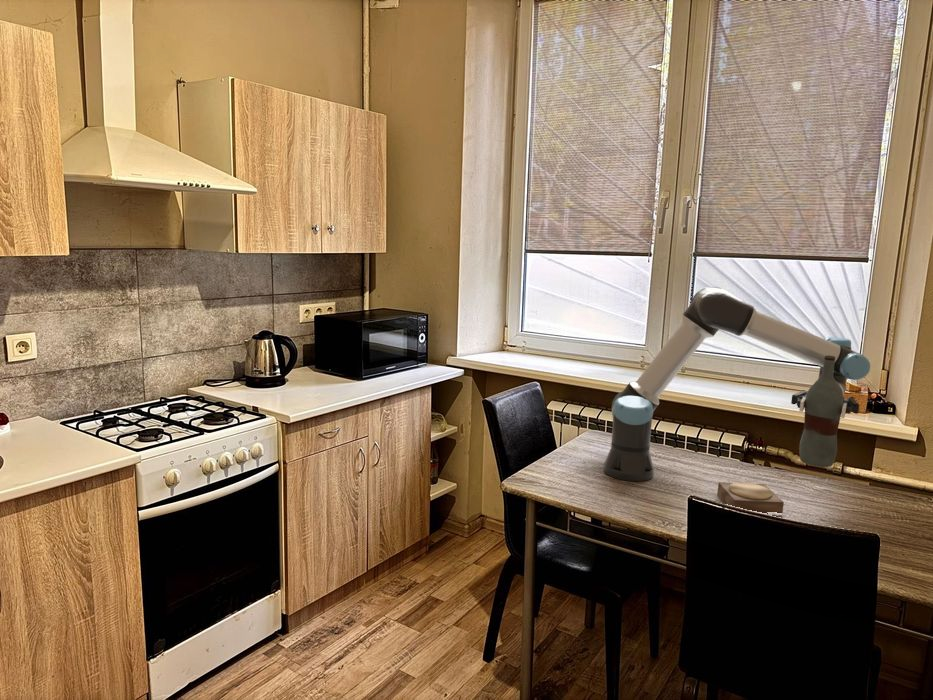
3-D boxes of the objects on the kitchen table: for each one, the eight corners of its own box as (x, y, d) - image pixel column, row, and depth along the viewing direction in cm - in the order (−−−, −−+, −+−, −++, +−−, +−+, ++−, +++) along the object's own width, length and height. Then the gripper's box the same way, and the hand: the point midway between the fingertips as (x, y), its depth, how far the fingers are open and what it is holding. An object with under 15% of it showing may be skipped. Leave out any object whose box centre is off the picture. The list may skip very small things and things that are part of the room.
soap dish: (717, 495, 191) (718, 480, 190) (762, 497, 190) (764, 482, 190) (733, 514, 178) (735, 497, 177) (782, 516, 178) (784, 500, 177)
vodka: (809, 468, 179) (823, 359, 173) (790, 456, 188) (803, 352, 182) (842, 468, 179) (857, 359, 174) (822, 456, 188) (836, 353, 183)
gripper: (869, 412, 190) (867, 430, 172) (786, 400, 202) (775, 416, 183) (873, 387, 189) (871, 402, 170) (789, 376, 201) (779, 389, 182)
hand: (822, 409), depth 177 cm, fingers closed on vodka, 9 cm apart
